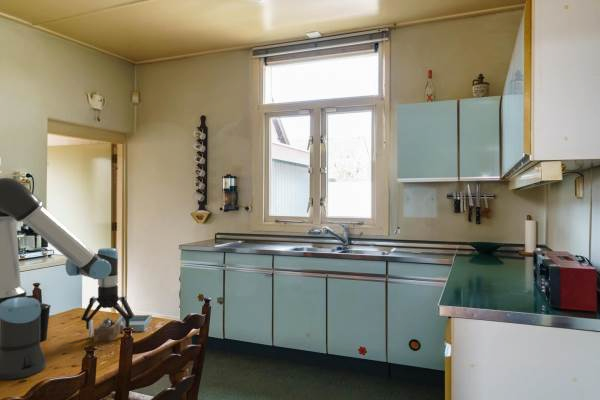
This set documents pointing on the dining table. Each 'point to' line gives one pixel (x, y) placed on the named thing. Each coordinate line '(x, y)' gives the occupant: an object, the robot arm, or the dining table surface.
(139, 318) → the tray
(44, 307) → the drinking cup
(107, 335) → the grey-brown rectangular block
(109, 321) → the stake
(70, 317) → the dining table surface
